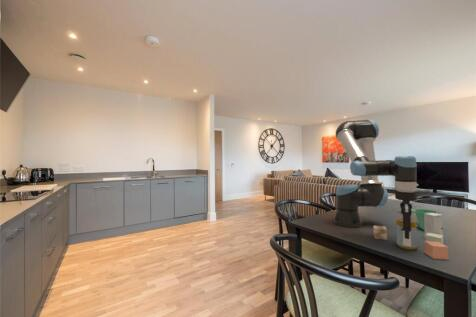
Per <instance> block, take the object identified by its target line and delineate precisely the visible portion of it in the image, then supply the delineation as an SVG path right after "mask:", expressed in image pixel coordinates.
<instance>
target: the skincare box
mask: <svg viewBox="0 0 476 317" xmlns="http://www.w3.org/2000/svg"><path fill="white" fill-rule="evenodd" d="M443 218H444V216H443V214H441V213H439V214H438V212H437V213H424V226H425V230H424V239H426V234H427V233H433V234H438V235H443V236H444V222H443V220H444V219H443Z"/></svg>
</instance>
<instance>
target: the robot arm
mask: <svg viewBox="0 0 476 317" xmlns="http://www.w3.org/2000/svg"><path fill="white" fill-rule="evenodd" d="M379 134H380V128H379V125H378V123H377V122H376V121H375V120H372V119H361V120H359V119H358V120H346V121H344V122H341V123H340V124H339V126H337V129H336V130H335V137H336V140H337V141H338V142H339V143H341V146H342V147H343V149H344V150H345V153H346V154H347V157H348V158H349V160H350V165H349V170H350V173H351V175H352V176H357V177H358V176H359V177H360V180H361V181H360V183H359V184H354V183H353V184H352V183H351V184H350V183H349V184H343V185H342V184H341V185H339V186H337V187H336V190H335V191H336V192H335V195H336V196H335V197H336V211H335V214H334V217H333V223H334V224H335V225H338V226H339V227H344V228H361V227H362V226H363V220H362V218H361V216H360V213H359V207H360V208H363V207H366V208H367V207H368V208H372V207H373V208H378V207H379V208H381V207H384V206H386V205H387V202H388V200H389V193H388V190H387V188H386V187H385V186H383V185H382V182H381V181H379V177H382V176H383V177H386V176H388V177H389V176H390V177H391V176H392V177H394V190H395V191H394V195H395V196H394V198H395V199H396V200H398V201H401V202H400V203H399V204H400V205H399V206H400V212H401V214H403V229H401V230H403V245H405V246H410V247H411V213H412V212H411V209H413V205H412V203H410V202H416V201H417V200H418V194H417V192H416V191H417V190H418V188H417V187H419V184H418V183H417V179H418V178H417V177H418V176H417V173H418V172H417V168H418V167H417V166H418V165H417V158H416V157H415V156H414V155H409V156H408V155H406V156H405V155H403V156H400V155H399V156H398V155H397V156H395V157H394V159H393V160H392V159H386V160H376V154H375V147H374V146H375V145H374V142H375V141H376V139H377V138H378V136H379ZM378 176H379V177H378Z"/></svg>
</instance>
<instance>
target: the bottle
mask: <svg viewBox="0 0 476 317" xmlns="http://www.w3.org/2000/svg"><path fill="white" fill-rule="evenodd" d="M396 216H397V220H396V222H395V223H396V226H395V228H396V229H395V230H396V245H397V247H399V248H400V249H403V250H407V251H415V250H417V249H418V228H417V227H418V226H417V225H416V223H415V221H416V213H414V212H411V247H410V246H405V245H403V230H401V229H403V214H401V211H397V213H396Z"/></svg>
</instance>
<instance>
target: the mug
mask: <svg viewBox="0 0 476 317" xmlns="http://www.w3.org/2000/svg"><path fill="white" fill-rule="evenodd" d="M411 213H414V214H415V217H416V220H417V221H416V220H415V223H416V225H417V227H420V229H421V230H423V231H425V226H424V213H437V214H440V212H437V211H436V210H433V209H422V208H418V209H413V208H412V209H411Z"/></svg>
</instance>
